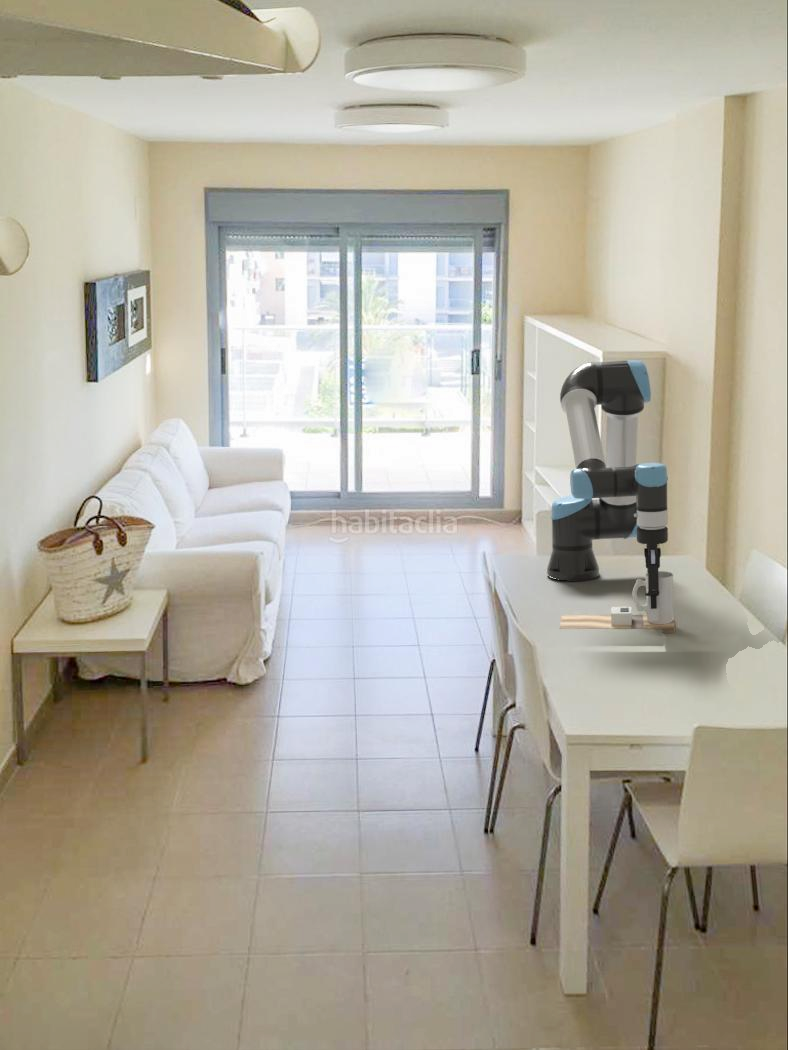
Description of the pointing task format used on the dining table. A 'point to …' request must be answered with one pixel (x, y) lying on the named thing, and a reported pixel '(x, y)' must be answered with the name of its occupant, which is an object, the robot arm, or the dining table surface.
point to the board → (605, 623)
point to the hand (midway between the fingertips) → (653, 615)
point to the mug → (664, 597)
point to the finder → (621, 616)
